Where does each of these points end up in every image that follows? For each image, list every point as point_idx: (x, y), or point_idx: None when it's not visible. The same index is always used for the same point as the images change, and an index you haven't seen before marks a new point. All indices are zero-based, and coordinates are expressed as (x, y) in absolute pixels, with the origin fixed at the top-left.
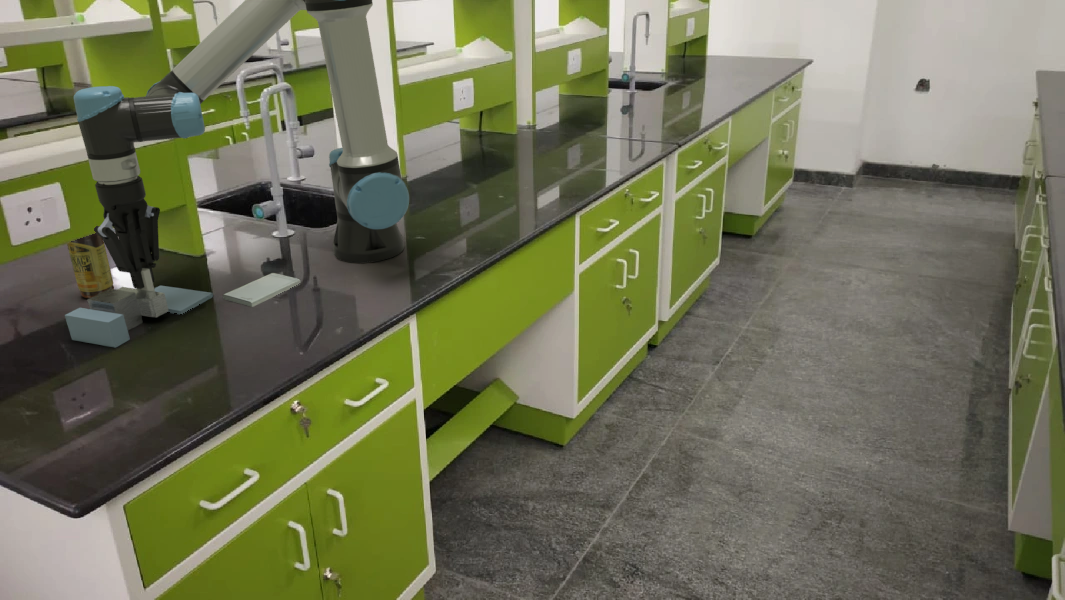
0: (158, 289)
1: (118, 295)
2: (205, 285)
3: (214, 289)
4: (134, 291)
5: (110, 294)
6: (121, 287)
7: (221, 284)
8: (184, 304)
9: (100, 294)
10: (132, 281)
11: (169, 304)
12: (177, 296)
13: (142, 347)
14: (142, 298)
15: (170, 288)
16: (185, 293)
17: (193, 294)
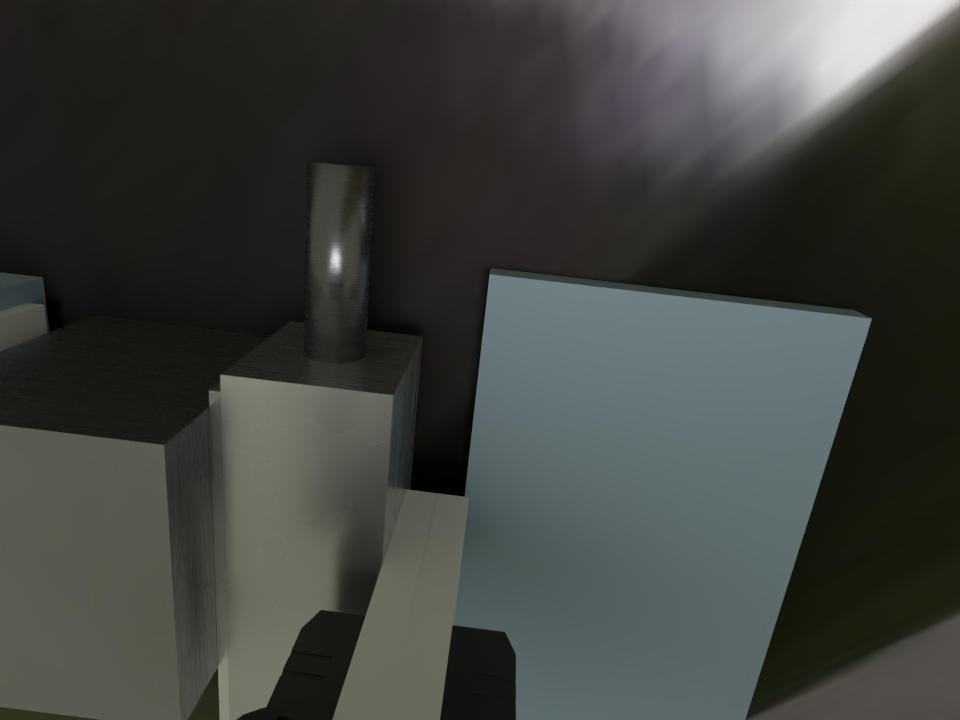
0: (780, 360)
1: (69, 637)
2: (927, 593)
3: (849, 681)
4: (323, 582)
5: (57, 549)
6: (376, 396)
7: (941, 682)
8: (532, 690)
9: (10, 454)
10: (281, 677)
11: (514, 605)
12: (654, 580)
13: (44, 715)
14: (232, 713)
15: (802, 447)
16: (712, 604)
17: (698, 662)
